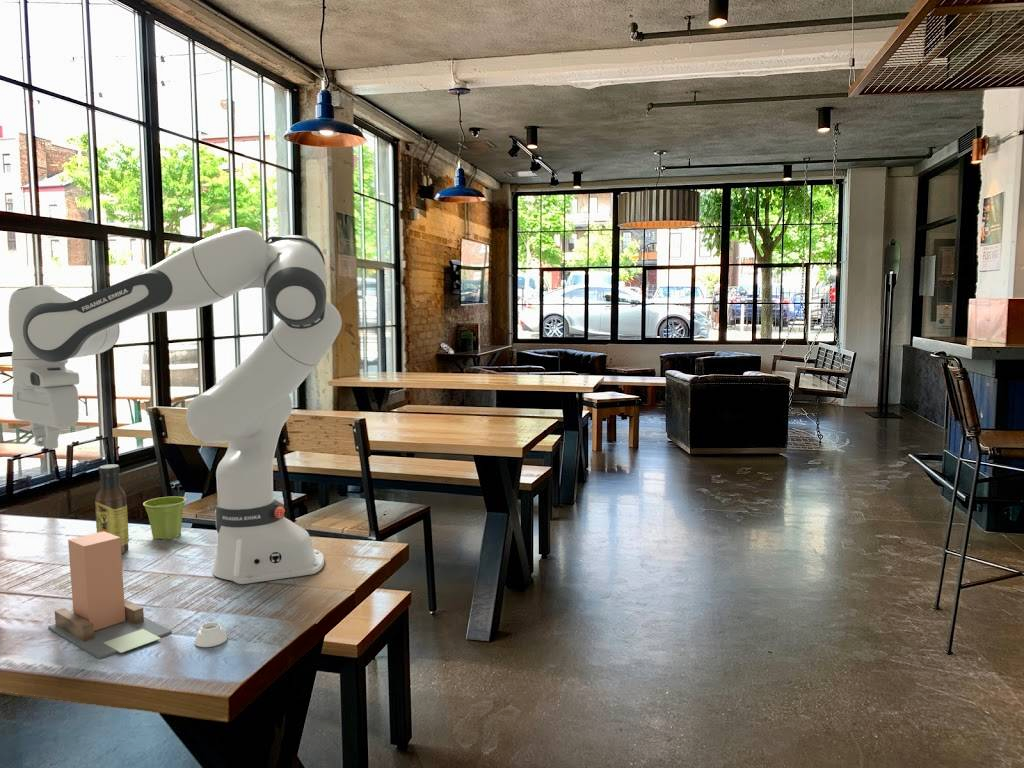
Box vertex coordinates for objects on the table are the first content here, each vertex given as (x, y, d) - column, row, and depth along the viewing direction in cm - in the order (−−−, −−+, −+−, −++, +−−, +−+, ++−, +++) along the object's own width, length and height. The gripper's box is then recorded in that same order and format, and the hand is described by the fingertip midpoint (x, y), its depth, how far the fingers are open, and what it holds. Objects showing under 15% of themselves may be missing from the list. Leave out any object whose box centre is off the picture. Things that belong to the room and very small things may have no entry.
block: (74, 623, 135) (68, 539, 133) (109, 612, 139) (103, 531, 138) (89, 632, 131) (83, 546, 129) (125, 620, 136) (120, 537, 134)
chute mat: (48, 628, 134) (48, 625, 134) (118, 606, 144) (118, 603, 144) (103, 661, 122) (103, 658, 122) (176, 635, 131) (176, 632, 131)
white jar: (230, 643, 128) (222, 633, 132) (230, 626, 128) (221, 616, 132) (199, 652, 125) (191, 641, 129) (198, 634, 125) (190, 624, 129)
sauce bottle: (94, 552, 174) (88, 465, 172) (124, 546, 179) (119, 461, 176) (103, 559, 170) (97, 470, 168) (133, 552, 174) (128, 465, 172)
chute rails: (55, 624, 135) (54, 611, 134) (114, 606, 142) (113, 593, 142) (84, 641, 128) (83, 627, 128) (144, 621, 136) (143, 607, 135)
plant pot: (140, 535, 186) (138, 500, 185) (181, 528, 192) (179, 494, 191) (151, 545, 179) (149, 508, 178) (193, 537, 185) (191, 501, 184)
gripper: (0, 371, 147) (5, 443, 149) (45, 378, 135) (51, 456, 136) (36, 369, 152) (41, 438, 154) (83, 375, 140) (88, 450, 141)
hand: (46, 447), depth 145 cm, fingers open, 3 cm apart
